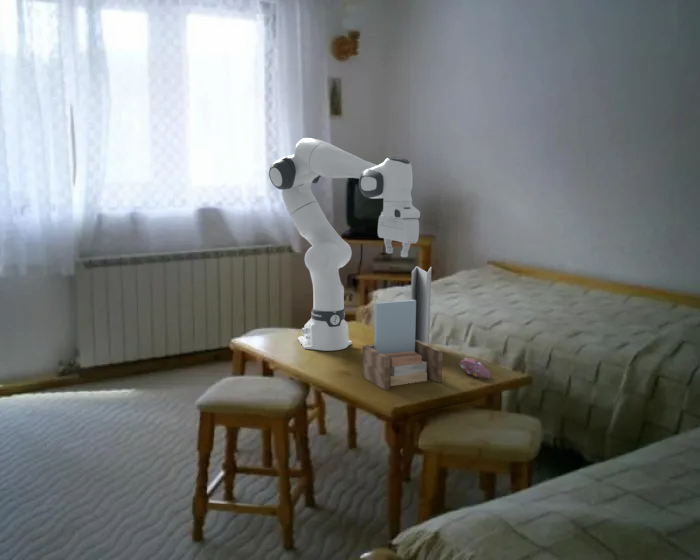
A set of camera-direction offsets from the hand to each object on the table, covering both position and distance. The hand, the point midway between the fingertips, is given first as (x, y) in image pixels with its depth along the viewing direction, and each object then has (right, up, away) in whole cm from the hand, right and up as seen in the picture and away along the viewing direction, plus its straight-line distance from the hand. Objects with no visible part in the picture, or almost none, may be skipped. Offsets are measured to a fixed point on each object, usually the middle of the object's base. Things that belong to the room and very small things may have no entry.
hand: (396, 255), depth 228 cm
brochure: (+10, -34, +35) cm, 49 cm away
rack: (+1, -39, +3) cm, 39 cm away
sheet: (0, -38, +6) cm, 39 cm away
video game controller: (+25, -39, +7) cm, 47 cm away
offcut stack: (+2, -39, +1) cm, 39 cm away
